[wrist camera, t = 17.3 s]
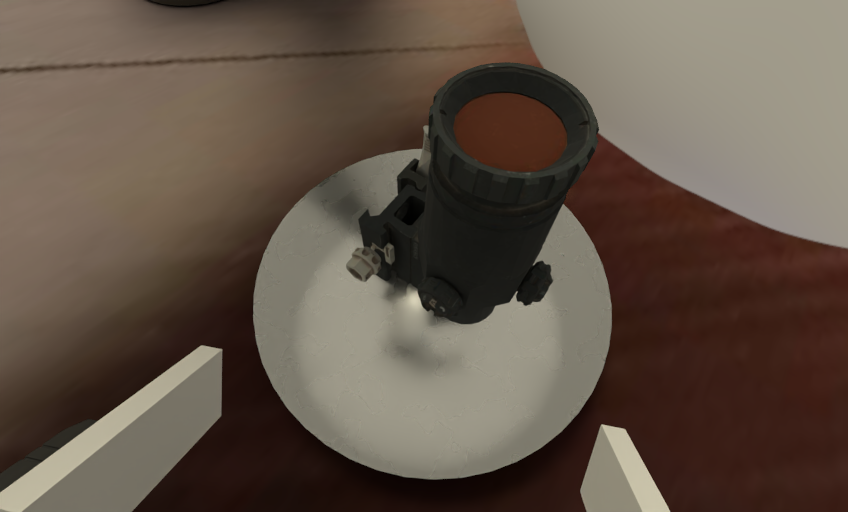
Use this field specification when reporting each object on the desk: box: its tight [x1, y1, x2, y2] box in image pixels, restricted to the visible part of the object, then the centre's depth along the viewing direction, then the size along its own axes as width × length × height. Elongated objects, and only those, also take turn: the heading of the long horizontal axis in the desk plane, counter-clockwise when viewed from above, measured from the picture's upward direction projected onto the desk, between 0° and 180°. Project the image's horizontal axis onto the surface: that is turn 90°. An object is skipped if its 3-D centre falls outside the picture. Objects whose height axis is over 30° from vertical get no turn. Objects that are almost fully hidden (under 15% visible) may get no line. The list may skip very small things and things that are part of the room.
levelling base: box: [253, 149, 612, 480], centre depth 27 cm, size 22×22×4 cm
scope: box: [346, 63, 599, 324], centre depth 19 cm, size 8×14×10 cm
